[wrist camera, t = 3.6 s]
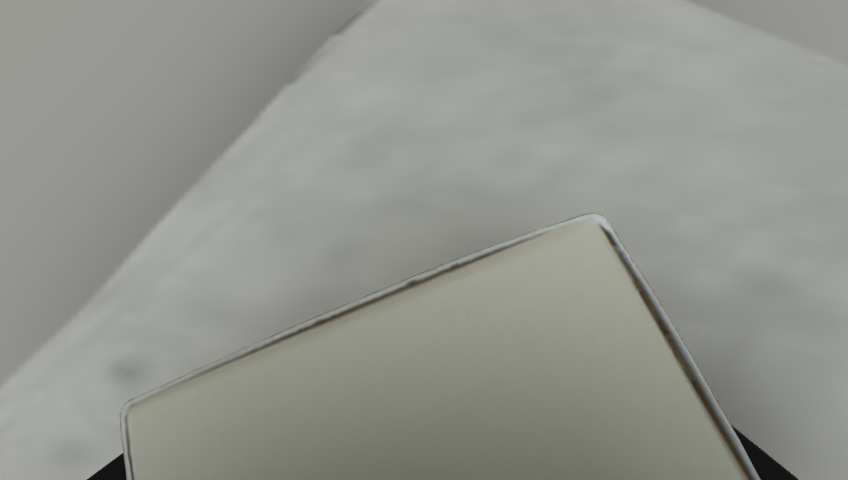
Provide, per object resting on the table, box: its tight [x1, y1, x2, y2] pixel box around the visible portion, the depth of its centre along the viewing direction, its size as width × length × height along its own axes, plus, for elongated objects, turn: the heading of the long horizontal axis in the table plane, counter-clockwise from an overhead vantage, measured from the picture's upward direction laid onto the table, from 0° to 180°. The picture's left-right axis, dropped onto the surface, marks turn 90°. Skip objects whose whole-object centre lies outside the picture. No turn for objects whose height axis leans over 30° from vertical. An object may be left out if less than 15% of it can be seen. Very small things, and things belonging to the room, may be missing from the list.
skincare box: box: [120, 213, 761, 480], centre depth 10 cm, size 6×4×12 cm
